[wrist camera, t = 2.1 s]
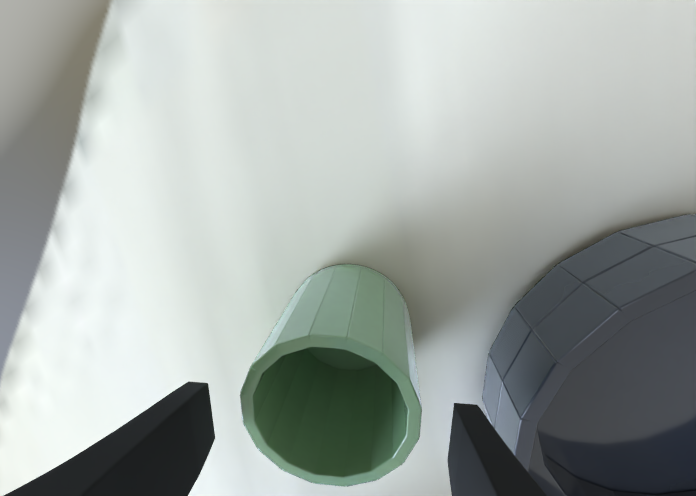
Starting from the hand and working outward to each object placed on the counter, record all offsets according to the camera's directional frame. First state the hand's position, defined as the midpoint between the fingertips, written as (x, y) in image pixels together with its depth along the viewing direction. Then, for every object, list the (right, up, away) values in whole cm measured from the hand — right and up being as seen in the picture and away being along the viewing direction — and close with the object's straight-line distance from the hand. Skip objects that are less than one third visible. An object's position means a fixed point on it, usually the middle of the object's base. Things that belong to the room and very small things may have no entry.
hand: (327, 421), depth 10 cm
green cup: (+1, +2, +6) cm, 6 cm away
